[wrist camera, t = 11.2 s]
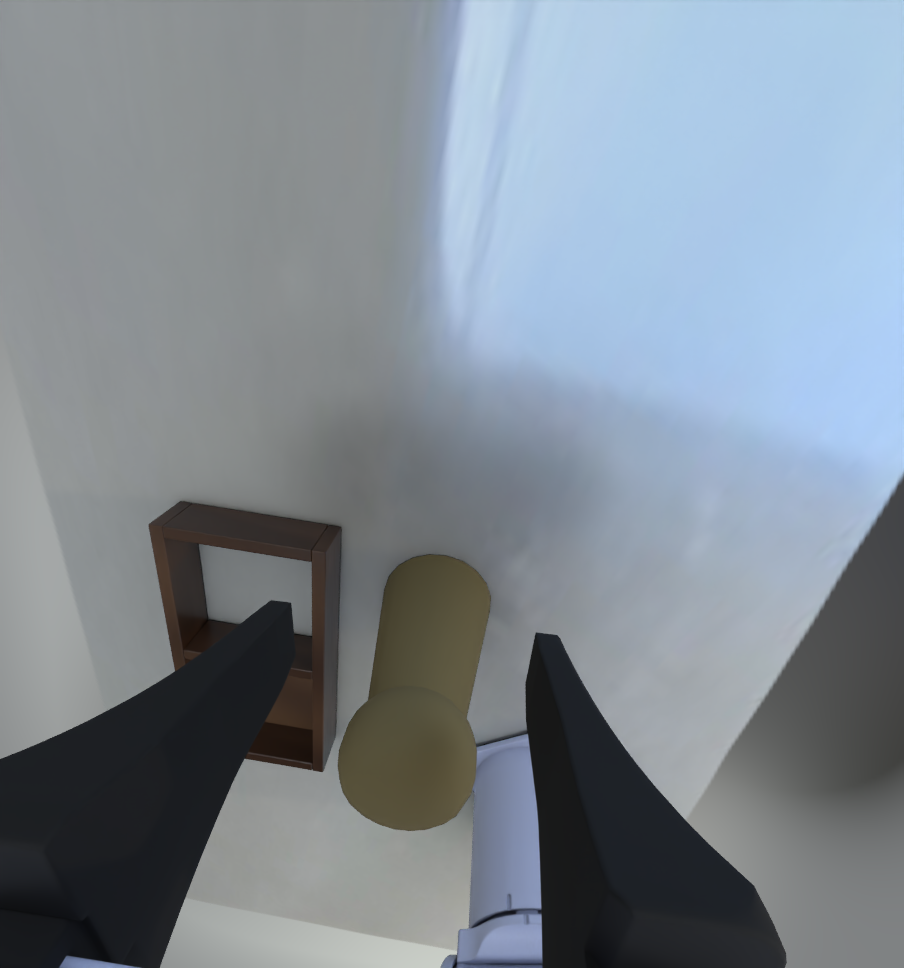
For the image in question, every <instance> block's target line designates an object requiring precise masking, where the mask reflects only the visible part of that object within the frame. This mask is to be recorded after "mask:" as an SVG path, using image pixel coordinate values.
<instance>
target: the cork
mask: <svg viewBox="0 0 904 968" xmlns="http://www.w3.org/2000/svg"><path fill="white" fill-rule="evenodd" d="M490 601H491V596H490V593H489V590H488V587H487V584H486V582H485V581H484V580H483V578H482V577H481V576H480V575H479V573H478V572H477V571H476V570H474V569H473V568H472V567H470V566H469V565H467V564H466V563H464V562H463V561H460V560H457V559H454V558H451V557H448V556H442V555H424V556H420V557H415V558H411V559H410V560H408V561H406V562H404V563H402V564H400V565H399V566H398V567H397V568H396V569H395V570H394V571H393V572H392V573H391V575H390V576H389V578H388V580H387V583H386V586H385V589H384V595H383V602H382V609H381V616H380V622H379V629H378V636H377V643H376V650H375V657H374V663H373V670H372V677H371V684H370V691H369V698H368V701H367V702H366V703H365V704H364V705H362V706H361V707H360V708H359V709H358V710H357V712H356V713H355V715H354V716H353V718H352V719H351V721H350V722H349V724H348V727H347V730H346V732H345V735H344V738H343V740H342V743H341V746H340V749H339V757H338V771H339V779H340V783H341V787H342V791H343V793H344V795H345V797H346V798H347V800H348V802H349V803H350V804H351V805H352V806H353V807H354V808H355V809H356V810H357V811H358V812H360V813H361V814H362V815H363V816H365V817H366V818H368V819H370V820H372V821H373V822H375V823H377V824H379V825H382V826H386V827H389V828H392V829H398V830H406V831H415V830H426V829H429V828H433V827H436V826H439V825H442V824H445V823H446V822H448V821H449V820H451V819H452V818H454V817H455V816H456V815H457V814H458V813H459V811H460V810H461V808H462V807H463V805H464V804H465V802H466V801H467V799H468V798H469V796H470V794H471V792H472V789H473V785H474V782H475V778H476V764H477V748H476V743H475V739H474V735H473V732H472V730H471V727H470V725H469V722H468V720H467V719H466V718H467V713H468V709H469V704H470V700H471V695H472V690H473V686H474V681H475V677H476V672H477V667H478V663H479V658H480V653H481V649H482V644H483V640H484V635H485V630H486V626H487V621H488V617H489V612H490Z"/></svg>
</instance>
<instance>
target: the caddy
mask: <svg viewBox="0 0 904 968" xmlns="http://www.w3.org/2000/svg"><path fill="white" fill-rule="evenodd" d="M149 530H150V536H151V541H152V546H153V552H154V557H155V563H156V568H157V574H158V579H159V585H160V590H161V596H162V601H163V607H164V612H165V618H166V623H167V629H168V634H169V640H170V645H171V651H172V656H173V662H174V667H175V671H177V670H178V669H180V668H181V667H182V666H184V665H185V664H187V663H188V662H190V661H191V660H193V659H194V658H195V657H197V656H198V655H200V654H201V653H203V652H204V651H205V650H207V649H208V648H210V647H211V646H212V645H214V644H215V643H216V642H218V641H219V640H220V639H222V638H223V637H224V636H226V635H227V634H228V633H230V632H231V631H232V630H233V629H235V628H236V627H237V626H239V625H235V624H229V623H223V622H217V621H211V620H208V618H207V610H206V603H205V595H204V587H203V580H202V572H201V564H200V557H199V549H198V544H204V545H210V546H216V547H222V548H229V549H235V550H241V551H247V552H253V553H260V554H266V555H272V556H278V557H284V558H291V559H297V560H303V561H309V562H311V561H312V637H308V636H302V635H296V634H294V640H295V650H296V656H295V658H294V661H293V664H292V666H291V669H290V671H289V674H288V676H287V679H286V681H285V684H284V686H283V688H282V690H281V692H280V694H279V696H278V698H277V700H276V702H275V704H274V705H273V707H272V709H271V711H270V713H269V715H268V717H267V718H266V720H265V722H264V724H263V726H262V727H261V729H260V731H259V733H258V735H257V737H256V738H255V740H254V742H253V744H252V746H251V748H250V749H249V751H248V753H247V755H246V757H245V759H250V760H256V761H262V762H268V763H273V764H279V765H285V766H291V767H297V768H302V769H308V770H312V769H313V771H319V772H323V771H324V768H325V765H326V763H327V760H328V757H329V754H330V751H331V748H332V745H333V742H334V740H335V732H336V696H337V660H338V625H339V589H340V553H341V527H338V526H332V525H329V526H328V525H326V524H320V523H313V522H307V521H301V520H295V519H288V518H282V517H276V516H269V515H263V514H257V513H250V512H244V511H238V510H232V509H225V508H219V507H213V506H206V505H200V504H192V503H188V502H179V503H177V504H176V505H175V506H173V507H172V508H170V509H169V510H168V511H166V512H165V513H163V514H162V515H161V516H159V517H158V518H157V519H155V520H154V521H152V522H151V523H150V524H149Z"/></svg>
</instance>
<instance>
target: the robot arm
mask: <svg viewBox="0 0 904 968" xmlns="http://www.w3.org/2000/svg"><path fill="white" fill-rule="evenodd" d="M295 656H296V650H295V640H294V629H293V618H292V608H291V603H288V602H280V601H272V600H271V601H270V602H268V603H267V604H266V605H264V606H263V607H262V608H260V609H259V610H258V611H256V612H255V613H254V614H253V615H251V616H250V617H249V618H247V619H246V620H245V621H244V622H242V623H241V624H240V625H239V626H237V627H236V628H235V629H233V630H232V631H231V632H230V633H228V634H227V635H226V636H224V637H223V638H222V639H220V640H219V641H218V642H216V643H215V644H214V645H212V646H211V647H210V648H208V649H207V650H205V651H204V652H203V653H201V654H200V655H198V656H197V657H195V658H194V659H193V660H191V661H190V662H188V663H187V664H185V665H184V666H182V667H181V668H180V669H178V670H177V671H175V672H174V673H172V674H171V675H169V676H167V677H166V678H164V679H163V680H161V681H159V682H158V683H156V684H154V685H153V686H151V687H149V688H148V689H146V690H144V691H143V692H141V693H139V694H138V695H136V696H134V697H132V698H131V699H129V700H127V701H125V702H123V703H121V704H119V705H117V706H115V707H114V708H112V709H110V710H108V711H106V712H104V713H102V714H100V715H98V716H96V717H95V718H93V719H91V720H89V721H87V722H85V723H83V724H80V725H79V726H76V727H74V728H72V729H70V730H68V731H66V732H64V733H62V734H59V735H57V736H55V737H52V738H50V739H48V740H46V741H44V742H41V743H39V744H37V745H34V746H32V747H29V748H27V749H25V750H22V751H20V752H17V753H15V754H12V755H10V756H7V757H5V758H2V759H0V968H160V965H161V962H162V959H163V957H164V954H165V951H166V948H167V945H168V943H169V940H170V937H171V935H172V932H173V929H174V926H175V923H176V921H177V918H178V915H179V913H180V910H181V907H182V905H183V902H184V899H185V897H186V894H187V892H188V889H189V887H190V884H191V881H192V879H193V876H194V874H195V871H196V869H197V866H198V863H199V861H200V858H201V856H202V853H203V851H204V849H205V846H206V844H207V841H208V839H209V836H210V834H211V832H212V829H213V827H214V824H215V822H216V819H217V817H218V815H219V812H220V810H221V808H222V806H223V803H224V801H225V799H226V796H227V794H228V792H229V789H230V787H231V785H232V783H233V780H234V778H235V776H236V774H237V772H238V770H239V768H240V766H241V764H242V762H243V760H244V759H245V757H246V755H247V753H248V751H249V749H250V748H251V746H252V744H253V742H254V740H255V738H256V737H257V735H258V733H259V731H260V729H261V727H262V726H263V724H264V722H265V720H266V718H267V717H268V715H269V713H270V711H271V709H272V707H273V705H274V704H275V702H276V700H277V698H278V696H279V694H280V692H281V690H282V688H283V686H284V684H285V681H286V679H287V676H288V674H289V671H290V669H291V666H292V664H293V661H294V658H295ZM526 723H527V731H528V734H525V735H521V736H517V737H513V738H509V739H506V740H502V741H498V742H494V743H490V744H487V745H483V746H479V747H476V748H477V764H476V778H475V782H474V785H473V789H472V791H473V792H474V793H475V794H474V817H473V840H472V863H471V886H470V909H469V929H460V930H459V933H458V950H457V955H449V956H447V957H446V958H445V960H444V961H443V963H442V965H441V968H785V965H786V952H785V950H784V948H783V946H782V943H781V941H780V938H779V936H778V933H777V931H776V929H775V926H774V924H773V922H772V920H771V918H770V916H769V914H768V912H767V910H766V908H765V906H764V904H763V902H762V901H761V899H760V897H759V895H758V893H757V891H756V889H755V887H754V885H752V884H751V883H750V882H749V881H748V880H747V879H746V878H745V877H744V876H743V875H742V874H741V873H739V872H738V871H737V870H736V869H735V868H734V867H733V866H732V865H731V864H730V863H729V862H728V861H726V860H725V859H724V858H723V857H722V856H721V855H720V854H719V853H718V852H717V851H716V850H715V849H713V848H712V847H711V846H710V845H709V844H708V843H707V842H706V841H705V840H704V839H703V838H702V837H701V836H700V835H699V834H698V833H697V832H696V831H695V830H694V829H693V828H692V827H691V826H690V825H689V824H688V822H687V821H686V820H685V819H684V818H683V817H682V816H681V815H680V814H679V813H678V812H677V811H676V809H675V808H674V807H673V806H672V805H671V804H670V803H669V802H668V800H667V799H666V798H665V797H664V796H663V795H662V794H661V793H660V792H659V790H658V789H657V788H656V787H655V786H654V785H653V784H652V782H651V781H650V780H649V779H648V777H647V776H646V775H645V774H644V772H643V771H642V770H641V769H640V767H639V766H638V765H637V764H636V762H635V761H634V760H633V758H632V757H631V756H630V755H629V753H628V752H627V751H626V749H625V748H624V747H623V745H622V744H621V742H620V741H619V740H618V738H617V737H616V735H615V734H614V732H613V731H612V729H611V728H610V726H609V725H608V723H607V722H606V720H605V719H604V717H603V716H602V714H601V713H600V711H599V710H598V708H597V706H596V705H595V703H594V701H593V700H592V698H591V696H590V695H589V693H588V691H587V690H586V688H585V686H584V684H583V683H582V681H581V679H580V677H579V675H578V674H577V672H576V670H575V668H574V666H573V664H572V662H571V660H570V658H569V656H568V654H567V652H566V650H565V648H564V646H563V644H562V642H561V639H560V638H559V637H558V636H557V635H551V634H543V633H536V634H535V639H534V644H533V649H532V654H531V659H530V664H529V669H528V674H527V679H526Z"/></svg>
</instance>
